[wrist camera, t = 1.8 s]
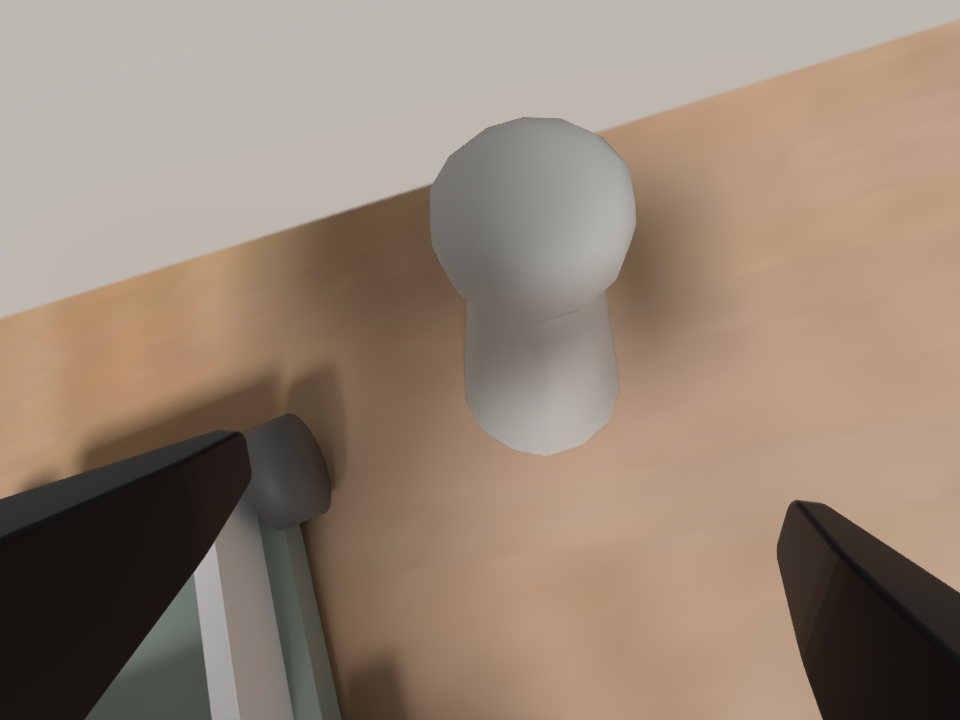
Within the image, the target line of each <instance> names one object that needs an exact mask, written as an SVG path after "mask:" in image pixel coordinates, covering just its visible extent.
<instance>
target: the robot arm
mask: <svg viewBox="0 0 960 720" xmlns="http://www.w3.org/2000/svg"><path fill="white" fill-rule="evenodd" d="M251 477H252V468H251V463H250V458H249V452H248V447H247V442H246V438H245V436H244V435H243V434H242V433H241V432H238V431H230V430H216V431H213V432H210V433H206V434H203V435H200V436H197V437H194V438H191V439H188V440H184V441H181V442H178V443H175V444H172V445H169V446H166V447H163V448H159V449H156V450H153V451H150V452H147V453H144V454H141V455H137V456H134V457H131V458H128V459H125V460H122V461H119V462H115V463H112V464H109V465H106V466H103V467H100V468H97V469H94V470H90V471H87V472H84V473H81V474H78V475H75V476H72V477H68V478H65V479H62V480H59V481H56V482H53V483H50V484H47V485H43V486H40V487H37V488H34V489H31V490H28V491H25V492H21V493H18V494H15V495H12V496H9V497H6V498H3V499H0V720H85V719H86V717H87V716H88V715H89V713H90V712H91V711H92V709H93V708H94V706H95V705H96V704H97V702H98V701H99V700H100V698H101V697H102V696H103V694H104V693H105V692H106V690H107V689H108V688H109V686H110V685H111V684H112V682H113V681H114V680H115V678H116V677H117V675H118V674H119V673H120V671H121V670H122V669H123V667H124V666H125V665H126V663H127V662H128V661H129V659H130V658H131V657H132V655H133V654H134V653H135V651H136V650H137V649H138V647H139V646H140V644H141V643H142V642H143V640H144V639H145V638H146V636H147V635H148V634H149V632H150V631H151V630H152V628H153V627H154V626H155V624H156V623H157V622H158V620H159V619H160V618H161V616H162V615H163V613H164V612H165V611H166V609H167V608H168V607H169V605H170V604H171V603H172V601H173V600H174V599H175V597H176V596H177V595H178V593H179V592H180V591H181V589H182V588H183V587H184V585H185V584H186V582H187V581H188V580H189V578H190V577H191V576H192V574H193V573H194V572H195V570H196V569H197V568H198V566H199V565H200V563H201V562H202V560H203V559H204V558H205V556H206V555H207V553H208V551H209V550H210V548H211V547H212V545H213V544H214V542H215V540H216V539H217V537H218V535H219V534H220V532H221V530H222V529H223V527H224V525H225V524H226V522H227V520H228V519H229V517H230V515H231V514H232V512H233V510H234V509H235V507H236V506H237V504H238V502H239V501H240V499H241V497H242V496H243V494H244V492H245V491H246V489H247V487H248V486H249V483H250V481H251ZM777 560H778V564H779V568H780V573H781V577H782V581H783V585H784V589H785V594H786V598H787V602H788V606H789V610H790V615H791V619H792V623H793V627H794V631H795V636H796V640H797V644H798V648H799V651H800V655H801V659H802V662H803V665H804V668H805V671H806V674H807V677H808V680H809V683H810V685H811V688H812V691H813V694H814V697H815V699H816V702H817V705H818V708H819V711H820V713H821V716H822V719H823V720H960V593H959V592H958V591H956V590H955V589H953V588H952V587H950V586H948V585H947V584H945V583H944V582H942V581H941V580H939V579H938V578H936V577H935V576H933V575H932V574H930V573H929V572H927V571H926V570H924V569H923V568H921V567H920V566H918V565H917V564H915V563H914V562H912V561H911V560H909V559H908V558H906V557H904V556H903V555H901V554H900V553H898V552H897V551H895V550H894V549H892V548H891V547H889V546H888V545H886V544H885V543H883V542H882V541H880V540H879V539H877V538H876V537H874V536H873V535H871V534H870V533H868V532H867V531H865V530H864V529H862V528H861V527H859V526H858V525H856V524H854V523H853V522H851V521H850V520H848V519H847V518H845V517H844V516H842V515H841V514H839V513H838V512H836V511H835V510H833V509H832V508H830V507H829V506H827V505H825V504H823V503H818V502H809V501H801V500H795V501H793V502H791V504H790V505H789V507H788V509H787V513H786V516H785V519H784V523H783V526H782V529H781V533H780V536H779V540H778V543H777Z"/></svg>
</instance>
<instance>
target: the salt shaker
mask: <svg viewBox="0 0 960 720" xmlns="http://www.w3.org/2000/svg"><path fill="white" fill-rule="evenodd" d="M635 228H636V206H635V198H634V192H633V186H632V180H631V174H630V168H629V165H628V164H627V163H626V162H625V161H624V160H623V159H622V158H621V157H620V155H619V154H618V153H617V152H616V151H615V150H614V149H613V148H612V147H611V146H610V144H609V143H608V142H607V141H606V140H605V139H604V138H603V137H601V136H599V135H597V134H595V133H592V132H590V131H588V130H585V129H583V128H581V127H579V126H576V125H574V124H572V123H569V122H567V121H565V120H563V119H558V118H557V119H556V118H528V117H527V118H526V117H523V118H519V119H516V120H512V121H509V122H505V123H502V124H498V125H495V126H492V127H488V128H486V129H485V130H484V131H482V132H481V133H480V134H478V135H477V136H475V137H474V138H473V139H471V140H470V141H469V142H468V143H466V144H465V145H463V146H462V147H461V148H460V149H459V150H457V151H456V152H454V153H453V154H452V155H450V156H449V158H448V159H447V161H446V163H445V164H444V166H443V168H442V169H441V171H440V173H439V174H438V176H437V178H436V180H435V181H434V183H433V185H432V186H431V188H430V231H431V244H432V247H433V249H434V252H435V254H436V256H437V258H438V260H439V262H440V264H441V265H442V267H443V269H444V271H445V272H446V274H447V276H448V278H449V279H450V281H451V283H452V285H453V287H454V288H455V290H456V292H457V294H459V295H460V296H462V297H463V298H465V299H466V300H467V304H466V331H465V358H464V377H465V399H466V401H467V403H468V405H469V407H470V409H471V411H472V413H473V415H474V417H475V419H476V421H477V423H478V425H479V427H480V429H481V430H483V431H484V432H486V433H487V434H489V435H490V436H492V437H493V438H495V439H496V440H498V441H499V442H501V443H502V444H504V445H505V446H507V447H508V448H510V449H511V450H516V451H521V452H526V453H531V454H536V455H541V456H549V455H552V454H556V453H559V452H562V451H565V450H569V449H572V448H575V447H578V446H581V445H582V444H583V443H584V442H585V441H586V440H588V439H589V438H590V437H591V436H592V435H593V434H595V433H596V432H597V431H598V430H599V429H600V428H601V427H603V426H604V425H605V424H606V423H607V422H608V421H609V419H610V416H611V413H612V410H613V407H614V405H615V402H616V399H617V396H618V393H619V391H620V384H619V376H618V368H617V361H616V353H615V347H614V340H613V334H612V327H611V321H610V314H609V308H608V301H607V295H606V288H608V287H609V286H610V285H611V284H612V283H613V282H614V281H616V280H617V277H618V274H619V272H620V269H621V267H622V264H623V261H624V259H625V256H626V254H627V251H628V249H629V246H630V243H631V240H632V237H633V234H634V231H635Z"/></svg>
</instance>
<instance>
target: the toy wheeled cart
mask: <svg viewBox="0 0 960 720" xmlns="http://www.w3.org/2000/svg"><path fill="white" fill-rule="evenodd" d="M243 435H244V436H245V438H246V442H247V447H248V452H249V458H250V463H251V468H252V477H251V481H250V483H249V486H248V487H247V489H246V491H245V492H244V494H243V496H242V497H241V499H240V501H239V502H238V504H237V506H236V507H235V509H234V510H233V512H232V514H231V515H230V517H229V519H228V520H227V522H226V524H225V525H224V527H223V529H222V530H221V532H220V534H219V535H218V537H217V539H216V540H215V542H214V544H213V545H212V547H211V548H210V550H209V551H208V553H207V555H206V556H205V558H204V559H203V560H202V562H201V563H200V565H199V566H198V568H197V569H196V570H195V572H194V573H193V574H192V576H191V577H190V578H189V580H188V581H187V582H186V584H185V585H184V587H183V588H182V589H181V591H180V592H179V593H178V595H177V596H176V597H175V599H174V600H173V601H172V603H171V604H170V605H169V607H168V608H167V609H166V611H165V612H164V613H163V615H162V616H161V618H160V619H159V620H158V622H157V623H156V624H155V626H154V627H153V628H152V630H151V631H150V632H149V634H148V635H147V636H146V638H145V639H144V640H143V642H142V643H141V644H140V646H139V647H138V649H137V650H136V651H135V653H134V654H133V655H132V657H131V658H130V659H129V661H128V662H127V663H126V665H125V666H124V667H123V669H122V670H121V671H120V673H119V674H118V675H117V677H116V678H115V680H114V681H113V682H112V684H111V685H110V686H109V688H108V689H107V690H106V692H105V693H104V694H103V696H102V697H101V698H100V700H99V701H98V702H97V704H96V705H95V706H94V708H93V709H92V711H91V712H90V713H89V715H88V716H87V717H86V719H85V720H342V718H341V713H340V708H339V704H338V699H337V694H336V690H335V685H334V680H333V676H332V671H331V666H330V662H329V657H328V652H327V648H326V643H325V638H324V634H323V629H322V624H321V620H320V615H319V610H318V606H317V601H316V596H315V592H314V587H313V582H312V578H311V573H310V568H309V564H308V559H307V554H306V550H305V545H304V540H303V536H302V531H301V526H300V523H301V522H303V521H306V520H308V519H311V518H313V517H316V516H318V515H321V514H323V513H325V512H327V510H328V509H329V507H330V503H331V485H330V479H329V474H328V470H327V467H326V463H325V460H324V458H323V455H322V453H321V450H320V448H319V446H318V444H317V442H316V440H315V438H314V436H313V435H312V433H311V431H310V430H309V428H308V427H307V426H306V424H305V423H304V422H303V421H302V420H301V419H300V418H298V417H297V416H296V415H294V414H286V415H284V416H281V417H279V418H276V419H274V420H271V421H269V422H266V423H264V424H261V425H259V426H256V427H254V428H251V429H249V430H246V431H245V432H244V433H243Z"/></svg>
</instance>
